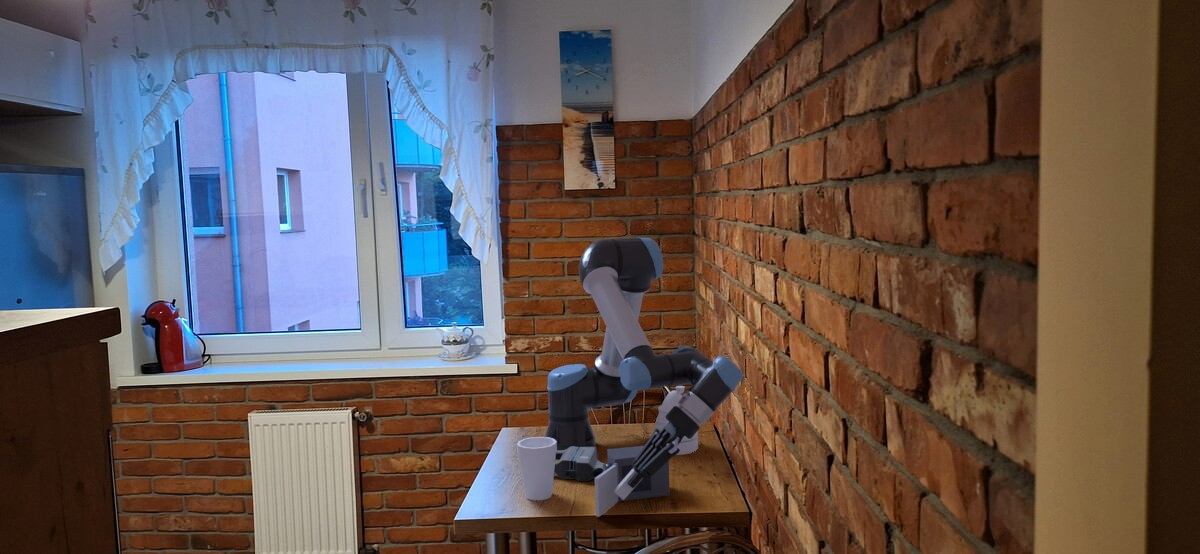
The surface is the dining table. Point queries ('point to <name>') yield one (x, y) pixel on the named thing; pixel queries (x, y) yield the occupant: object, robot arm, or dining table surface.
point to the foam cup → (537, 466)
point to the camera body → (645, 487)
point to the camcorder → (578, 463)
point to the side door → (606, 489)
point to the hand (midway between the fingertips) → (618, 495)
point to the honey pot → (661, 421)
